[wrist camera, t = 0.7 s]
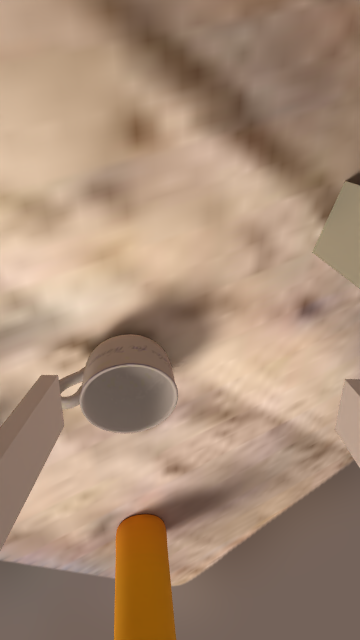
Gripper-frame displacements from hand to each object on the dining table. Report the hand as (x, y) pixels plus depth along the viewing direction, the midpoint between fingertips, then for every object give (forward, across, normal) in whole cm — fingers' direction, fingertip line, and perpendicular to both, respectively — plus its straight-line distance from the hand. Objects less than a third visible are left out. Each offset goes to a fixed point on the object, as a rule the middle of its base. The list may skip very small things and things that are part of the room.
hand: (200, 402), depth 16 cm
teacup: (+26, -9, -11) cm, 30 cm away
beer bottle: (+34, -8, -50) cm, 61 cm away
